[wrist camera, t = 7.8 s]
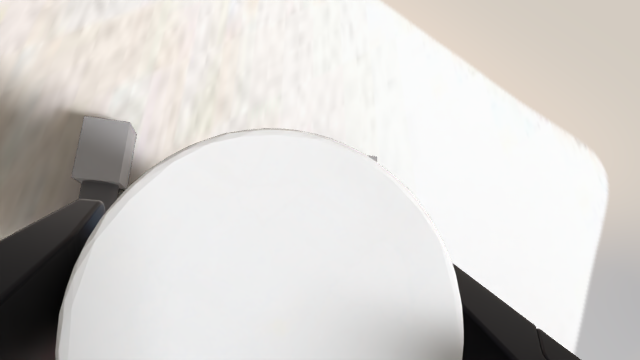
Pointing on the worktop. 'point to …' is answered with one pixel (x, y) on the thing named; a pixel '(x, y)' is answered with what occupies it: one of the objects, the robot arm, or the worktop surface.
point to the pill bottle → (263, 261)
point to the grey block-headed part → (104, 158)
